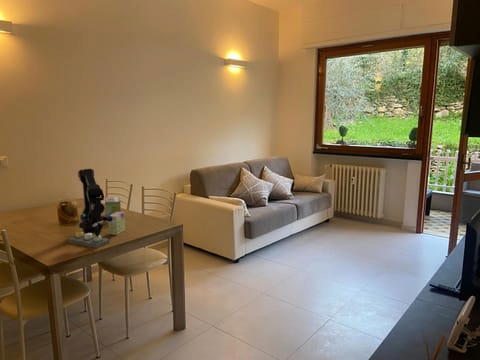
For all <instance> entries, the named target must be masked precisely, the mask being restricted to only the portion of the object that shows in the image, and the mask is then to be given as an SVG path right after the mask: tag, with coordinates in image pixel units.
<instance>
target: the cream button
mask: <svg viewBox="0 0 480 360" xmlns="http://www.w3.org/2000/svg"><path fill="white" fill-rule="evenodd" d="M92 236H93V233H86V234H85V233H84V238H85V240H92V239H93V238H92Z"/></svg>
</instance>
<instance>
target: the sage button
mask: <svg viewBox="0 0 480 360" xmlns="http://www.w3.org/2000/svg"><path fill="white" fill-rule="evenodd" d="M93 236H94V237H93V240H94V242H96V243H98V242H101V241H102V240H101V238H102V235H100V234H99V236H98V237H96V235H93Z"/></svg>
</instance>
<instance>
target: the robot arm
mask: <svg viewBox="0 0 480 360" xmlns="http://www.w3.org/2000/svg"><path fill="white" fill-rule="evenodd" d="M77 177H78V179H79V181H80V182H81V184H82V192H83V193H82V194H83V209H82V211H81V214H80V217H79V218H80V223H79V224H78V225H79V226H78V227H79V229H82V231H83V232H84V234H86V233H92V234H94V236H96V237H98V236H99V235H100V234H101V232H102V229H103V227H104V225H105V223H104V222H106V220H107V221H108V222H110V221H112V217H111V216H108V215H105V214H104V215H102V214H103V213H104V212H105V204H103V203H102V201H105V195H104V191H103V189H102V188H101V187H100V186H101V185H99V184H97V182H96V179H95V170H94V169H93V168H84V169H79V170H78V171H77Z"/></svg>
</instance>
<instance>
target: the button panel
mask: <svg viewBox="0 0 480 360" xmlns="http://www.w3.org/2000/svg"><path fill="white" fill-rule="evenodd" d="M94 236H95V235H92V238H93V237H94ZM101 240H102V241H101V242H98V243H96V242H94V240H93V239H92V240H85V238H80V239H77V238H76V235H74V236H70V237H68V238H67V242H68V243H71V244H76V245H79V246H80V245H81V246H85V247H88V248H89V247H90V248H95V249H97V248H100V247H102V246H105V245H106V244H110V243H111V242H110V239H109V238H104V237H101Z"/></svg>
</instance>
